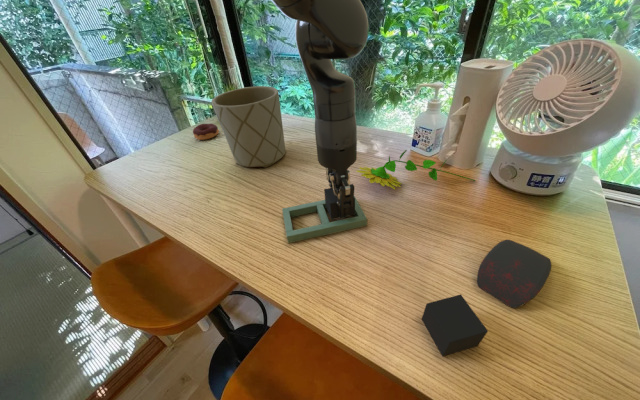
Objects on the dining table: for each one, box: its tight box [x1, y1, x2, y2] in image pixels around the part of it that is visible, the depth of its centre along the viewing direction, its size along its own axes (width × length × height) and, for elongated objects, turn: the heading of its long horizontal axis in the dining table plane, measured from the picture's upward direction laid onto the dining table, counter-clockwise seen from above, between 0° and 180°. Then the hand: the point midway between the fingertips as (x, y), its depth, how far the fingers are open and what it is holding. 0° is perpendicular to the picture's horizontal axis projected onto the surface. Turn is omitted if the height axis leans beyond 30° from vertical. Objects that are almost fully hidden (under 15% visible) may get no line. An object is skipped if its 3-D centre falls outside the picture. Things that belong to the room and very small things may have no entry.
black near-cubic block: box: [323, 187, 356, 220], centre depth 56 cm, size 5×5×4 cm
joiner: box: [281, 195, 368, 244], centre depth 57 cm, size 10×18×2 cm, turn 103°
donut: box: [192, 123, 220, 141], centre depth 103 cm, size 10×10×4 cm
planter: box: [211, 85, 286, 169], centre depth 79 cm, size 19×19×20 cm
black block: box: [421, 294, 489, 357], centre depth 36 cm, size 5×5×4 cm
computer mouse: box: [476, 239, 552, 309], centre depth 42 cm, size 8×14×4 cm, turn 130°
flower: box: [356, 149, 476, 190], centre depth 64 cm, size 12×9×30 cm
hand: (339, 207), depth 57 cm, fingers closed on black near-cubic block, 5 cm apart
